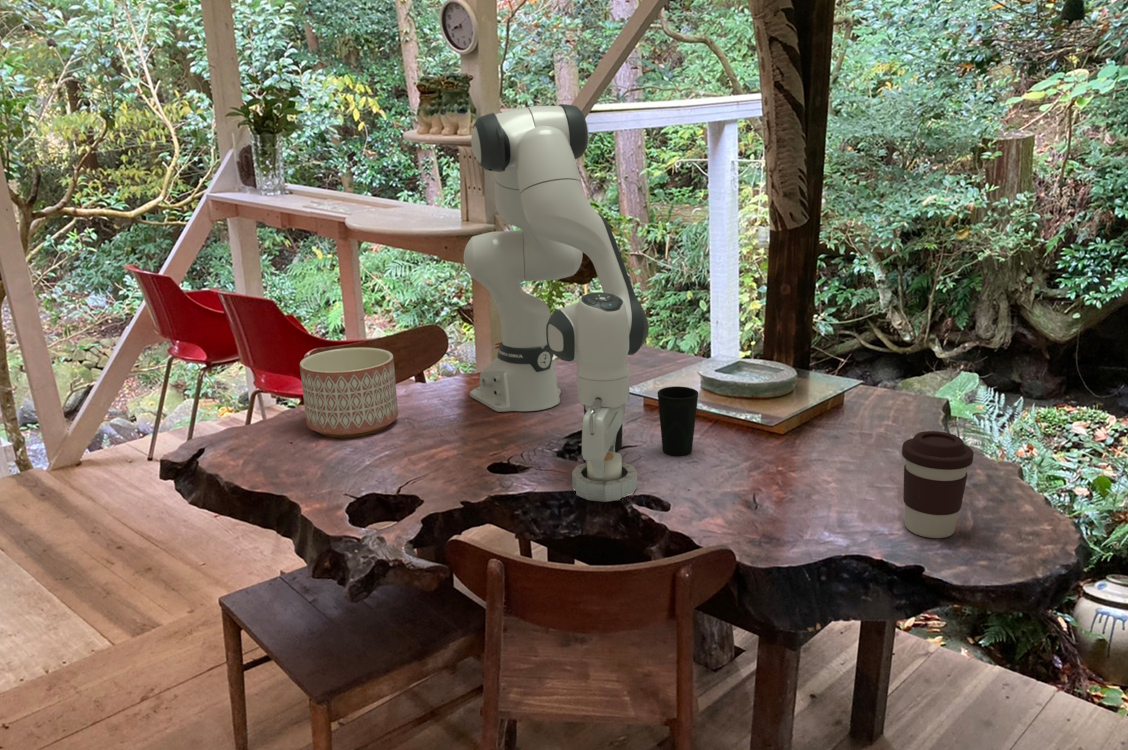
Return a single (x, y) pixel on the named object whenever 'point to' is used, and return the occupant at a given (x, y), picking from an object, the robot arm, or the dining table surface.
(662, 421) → the cup
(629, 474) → the stone fire pit ring
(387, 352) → the planter
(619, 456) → the jar
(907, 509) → the coffee cup
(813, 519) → the dining table surface
